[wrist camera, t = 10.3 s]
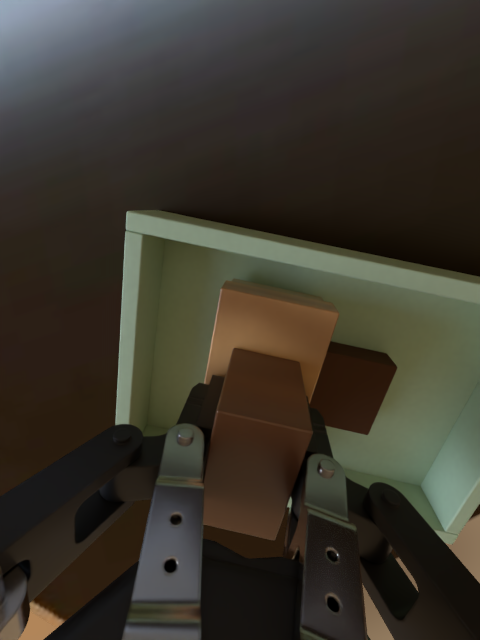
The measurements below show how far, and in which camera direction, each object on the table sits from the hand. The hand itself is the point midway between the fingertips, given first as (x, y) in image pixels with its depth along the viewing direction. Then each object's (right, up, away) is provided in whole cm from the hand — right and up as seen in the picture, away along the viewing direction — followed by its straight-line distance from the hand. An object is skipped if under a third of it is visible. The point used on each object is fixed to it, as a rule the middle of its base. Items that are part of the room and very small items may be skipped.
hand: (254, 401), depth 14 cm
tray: (+3, +1, +4) cm, 5 cm away
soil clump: (+5, 0, +3) cm, 6 cm away
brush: (0, +1, +3) cm, 3 cm away
